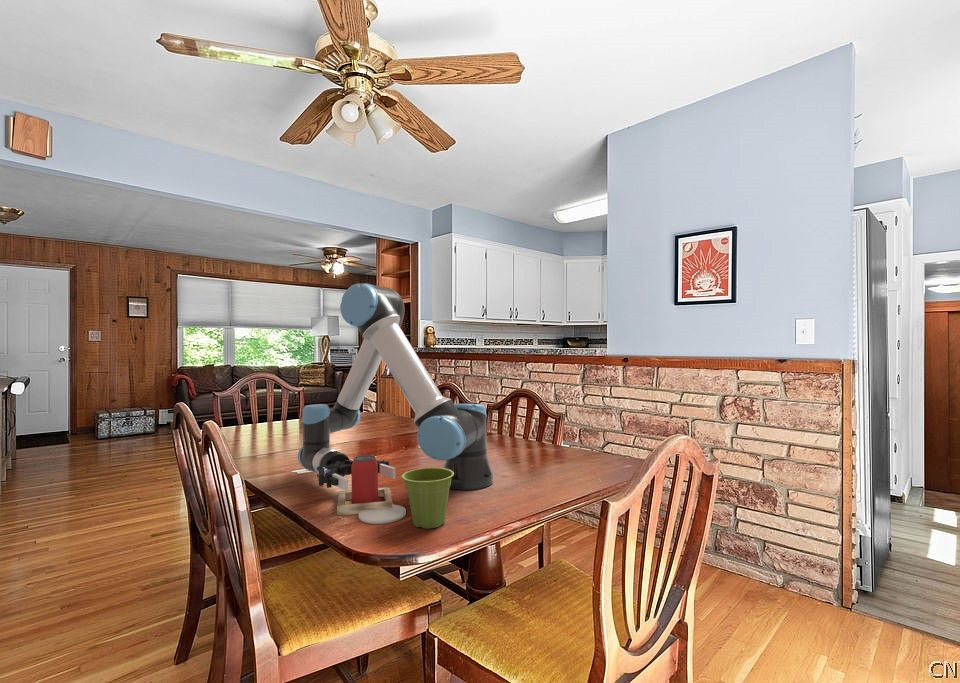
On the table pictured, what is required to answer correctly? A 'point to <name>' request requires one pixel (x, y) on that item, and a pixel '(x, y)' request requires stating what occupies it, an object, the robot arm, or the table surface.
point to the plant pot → (428, 495)
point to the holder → (356, 508)
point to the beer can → (364, 479)
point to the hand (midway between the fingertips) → (371, 478)
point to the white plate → (382, 515)
